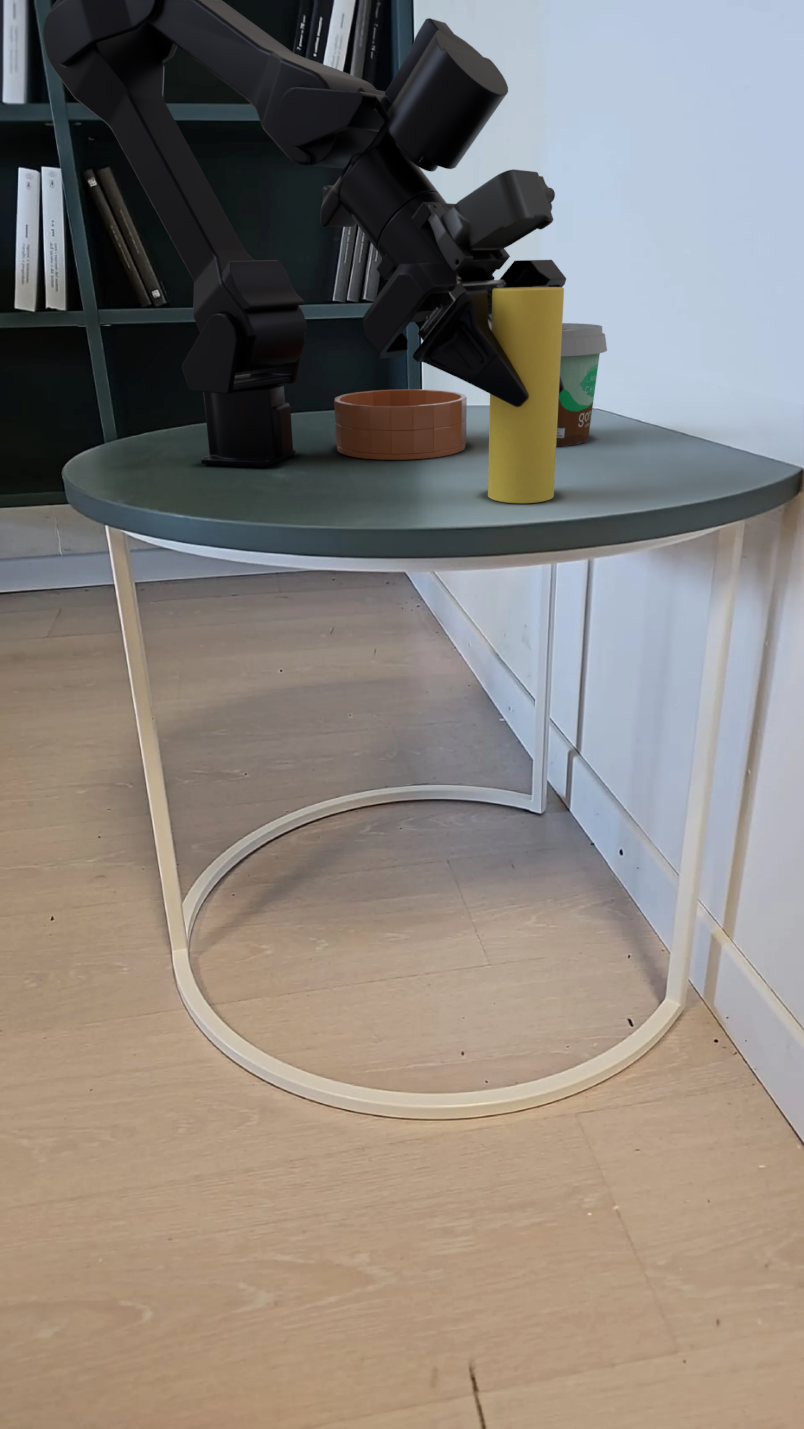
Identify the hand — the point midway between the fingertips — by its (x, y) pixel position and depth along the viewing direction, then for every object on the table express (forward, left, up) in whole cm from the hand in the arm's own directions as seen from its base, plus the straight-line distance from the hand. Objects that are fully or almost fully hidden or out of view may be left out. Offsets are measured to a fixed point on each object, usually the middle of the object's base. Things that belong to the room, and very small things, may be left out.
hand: (541, 398), depth 67 cm
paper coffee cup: (-1, +25, -7) cm, 27 cm away
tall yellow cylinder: (-1, 0, -7) cm, 7 cm away
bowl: (-16, +18, -7) cm, 25 cm away
